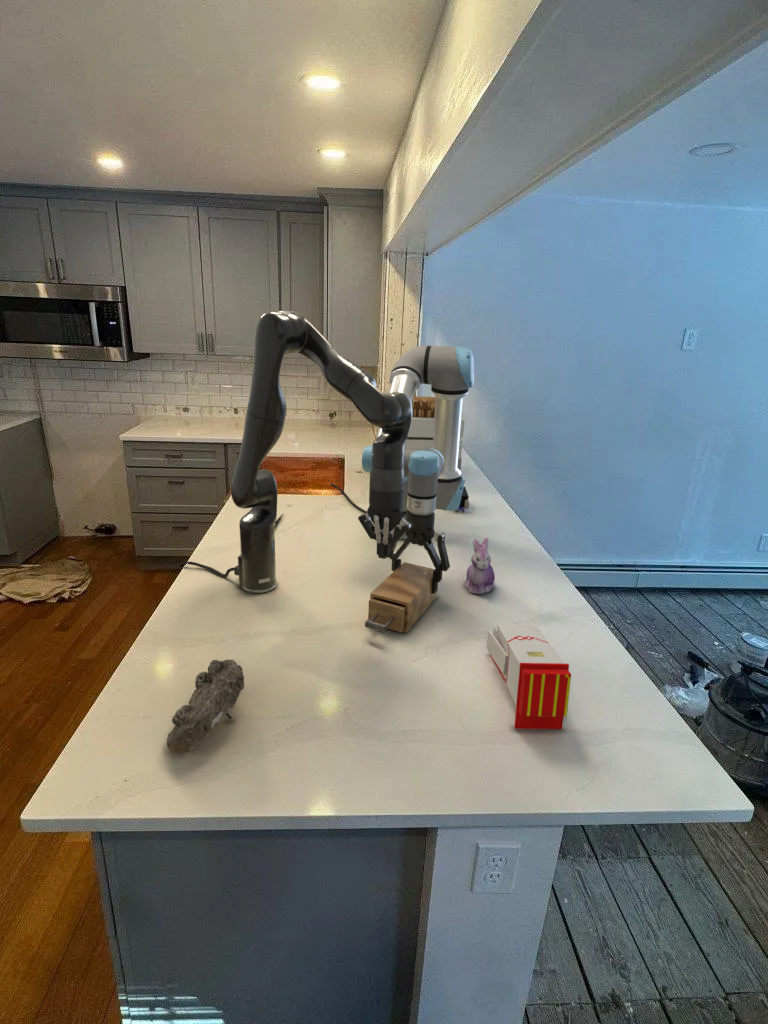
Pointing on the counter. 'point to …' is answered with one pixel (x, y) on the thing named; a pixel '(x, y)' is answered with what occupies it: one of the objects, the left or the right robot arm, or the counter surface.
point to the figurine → (480, 569)
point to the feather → (278, 520)
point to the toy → (531, 675)
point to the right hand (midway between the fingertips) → (415, 586)
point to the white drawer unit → (426, 426)
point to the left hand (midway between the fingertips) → (383, 557)
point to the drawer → (385, 615)
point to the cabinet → (408, 590)
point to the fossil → (206, 705)
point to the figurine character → (464, 500)
